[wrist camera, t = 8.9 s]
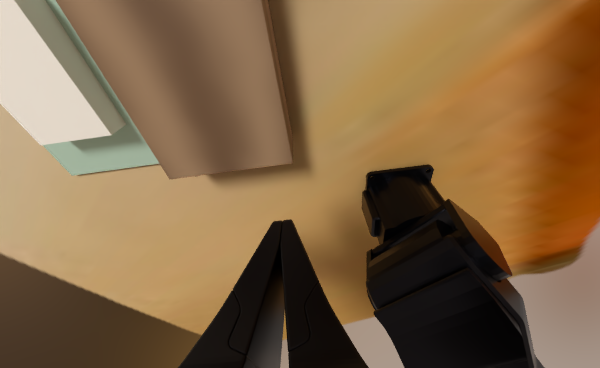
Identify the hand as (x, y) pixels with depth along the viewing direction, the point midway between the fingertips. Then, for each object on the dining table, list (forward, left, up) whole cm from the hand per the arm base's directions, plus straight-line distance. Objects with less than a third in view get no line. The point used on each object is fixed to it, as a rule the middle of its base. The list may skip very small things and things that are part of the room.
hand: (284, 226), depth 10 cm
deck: (+5, -6, -12) cm, 14 cm away
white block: (+16, -6, -10) cm, 20 cm away
